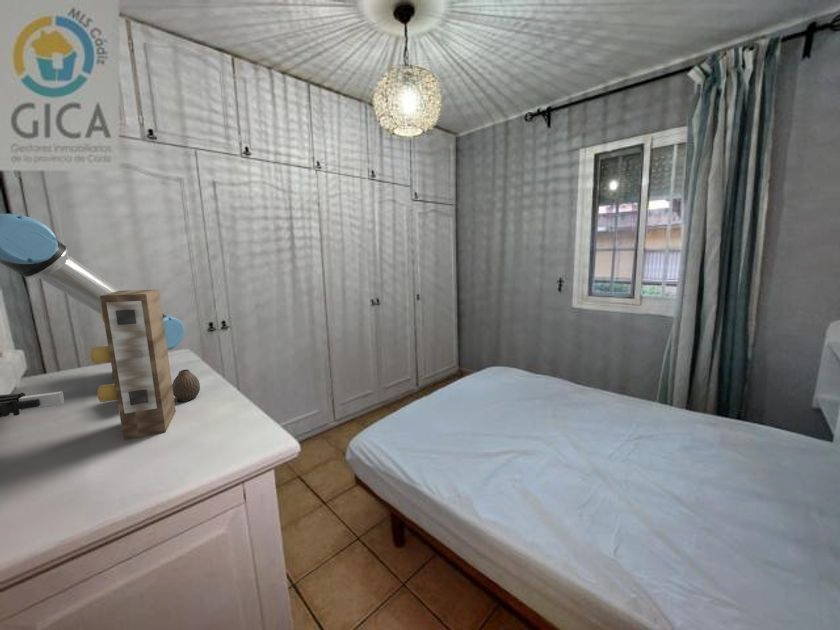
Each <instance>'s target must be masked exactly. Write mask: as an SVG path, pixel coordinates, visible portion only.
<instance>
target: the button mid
mask: <svg viewBox="0 0 840 630" xmlns="http://www.w3.org/2000/svg"><path fill="white" fill-rule="evenodd" d="M90 360H91V362H92V363H93V364H94V365H98V364H108V363H110V364H111V360H110V354H109V348H108V345H101V346H93V347H92V348H91V350H90Z"/></svg>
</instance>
